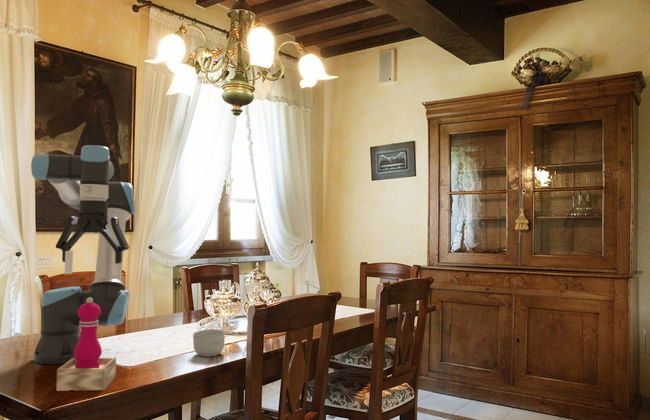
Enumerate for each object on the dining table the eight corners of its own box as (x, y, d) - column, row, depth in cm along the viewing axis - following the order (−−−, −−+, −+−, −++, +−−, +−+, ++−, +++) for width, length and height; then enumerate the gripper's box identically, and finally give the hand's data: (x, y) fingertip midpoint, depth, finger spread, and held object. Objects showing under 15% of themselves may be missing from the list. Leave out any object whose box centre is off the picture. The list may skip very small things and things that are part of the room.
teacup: (216, 359, 179) (217, 335, 179) (186, 357, 181) (187, 333, 182) (232, 350, 193) (232, 328, 193) (204, 348, 195) (204, 326, 195)
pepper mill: (72, 373, 146) (75, 299, 146) (73, 366, 152) (75, 296, 153) (101, 370, 149) (103, 298, 149) (100, 364, 155) (103, 295, 156)
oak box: (56, 390, 144) (57, 369, 144) (71, 377, 156) (72, 358, 156) (103, 389, 145) (104, 368, 145) (115, 377, 157) (116, 357, 157)
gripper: (43, 198, 149) (41, 274, 149) (131, 200, 148) (129, 276, 148) (58, 199, 157) (56, 271, 156) (141, 201, 155) (139, 274, 155)
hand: (91, 274), depth 152 cm, fingers open, 13 cm apart
